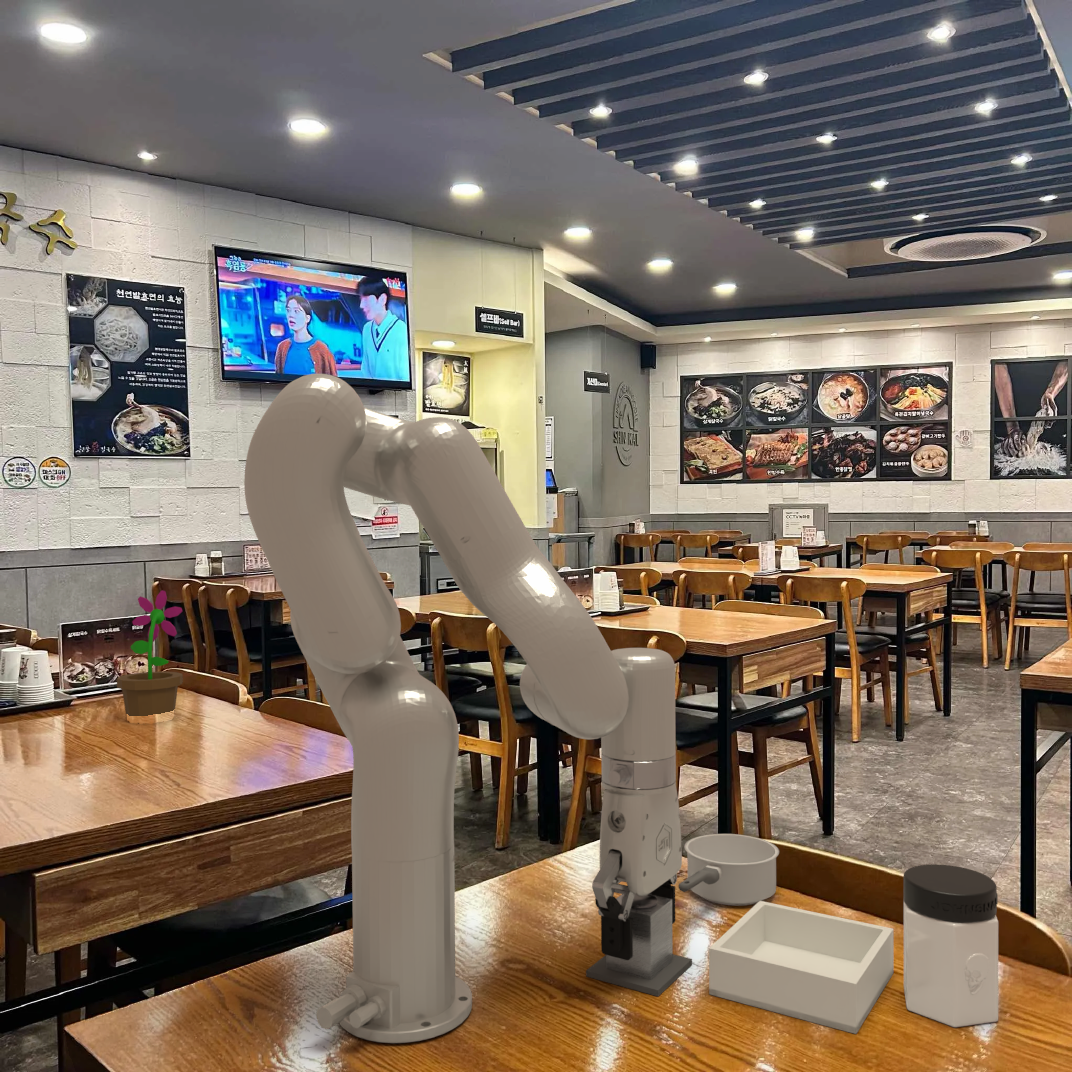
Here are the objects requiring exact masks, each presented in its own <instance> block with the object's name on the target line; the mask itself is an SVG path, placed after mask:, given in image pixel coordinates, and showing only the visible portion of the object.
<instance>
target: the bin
mask: <svg viewBox="0 0 1072 1072" xmlns="http://www.w3.org/2000/svg"><path fill="white" fill-rule="evenodd" d="M894 943H895V942H894V928H891V927H887V926H882V925H877V924H872V923H867V922H863V921H858V920H854V919H849V918H843V917H839V916H835V915H829V914H825V913H819V912H816V911H810V910H806V909H801V908H797V907H792V906H787V905H783V904H778V903H777V904H776V903H772V902H767V901H764V900H762V901H759V902H758V903H755V904H754V905H753V906H752V907H751V908H750V909H749V910H748V911H747V912H746V913H745V914H744V915H743V916H742V917H740V919H739V920H738V921H736V923H734V924H733V925H732V926H731V927H730V928H729V929H728V930H727V931H726V932H725V933H723V935H722V936H720V937H719V938H718V939H717V940H716V941H715V942H714V943H713V944H712V945H711V946H709V948H708V994H709V995H711V996H714V997H716V998H722V999H725V1000H728V1001H732V1002H737V1003H739V1004H744V1005H747V1006H751V1007H754V1008H759V1009H762V1010H766V1011H770V1012H771V1013H772V1012H773V1013H777V1014H781V1015H784V1016H788V1017H792V1018H796V1019H798V1020H799V1019H800V1020H803V1021H806V1022H809V1023H813V1024H817V1025H820V1026H825V1027H828V1028H833V1029H836V1030H839V1031H842V1032H846V1033H850V1034H855V1035H857V1034H858V1032H859V1030H860V1029H861V1027H862V1026H863V1024H864V1023H865V1021H866V1018H867V1017H868V1015H869V1014H870V1013H871V1011H872V1010H873V1007H874V1006H875V1004H876V1003H877V1001H878V999H879V997H880V996H881V994H882V992H883V991H884V990H885V988H886V986H887V984H888V983H889V981H890V979H891V978H892V977H893V975H894V969H895V968H894V964H895V962H894V959H895V958H894V954H895V953H894V950H895V949H894Z"/></svg>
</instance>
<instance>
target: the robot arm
mask: <svg viewBox="0 0 1072 1072" xmlns="http://www.w3.org/2000/svg"><path fill="white" fill-rule="evenodd" d="M259 420H260V421H259V423H258V424H257V426H256V428H255V430H254V432H253V435H252V437H251V440H250V443H249V446H248V450H247V453H246V458H245V467H244V480H243V483H244V485H243V486H244V497H245V498H244V499H245V503H246V508H247V513H248V515H249V520H250V523H251V525H252V529H253V531H254V534H255V536H256V539H257V540H258V542H259V544H260V547H261V549H262V552H263V553H264V556H265V559H266V560H267V562H268V564H269V566H270V569H271V571H272V573H273V576H274V578H275V581H276V582H277V584H278V586H279V588H280V591H281V593H282V594H283V596H284V599H285V601H286V602H287V606H288V607H289V610H290V614H289V617H290V626H291V630H292V633H293V636H294V638H295V641H296V642H297V645H298V647H299V649H300V651H301V653H302V654H303V655H302V656H303V657H304V659H305V661H306V663H307V665H308V666H309V668H310V670H311V673H312V674H313V676H314V679H315V680H316V683H317V684H318V687H319V688H320V690H321V692H322V695H323V696H324V698H325V700H326V702H327V704H328V705H329V707H330V710H331V711H332V714H333V715H334V717H335V719H336V721H337V723H338V725H339V727H340V729H341V731H342V733H343V734H344V736H345V737H346V739H347V740H348V742H349V745H351V747H352V758H353V761H352V762H353V767H352V770H353V773H352V792H351V811H350V812H351V814H350V815H351V817H350V818H351V821H350V823H351V826H350V827H351V830H350V831H351V833H350V834H351V841H350V842H351V843H350V844H351V872H352V873H351V874H352V876H351V878H352V881H351V883H352V884H351V885H352V886H351V887H352V888H351V889H352V958H353V959H352V964H353V965H352V967H353V971H351V972H349V973H348V974H346V975H345V989H343V990H342V991H341V993H340V994H339V995H338V996H339V997H337V998H334V999H333V1000H331V1001H329V1002H327V1003H325V1004H323V1005H322V1006H320V1007H318V1008H317V1011H316V1020H317V1023H318V1025H319V1026H320V1027H321V1028H322V1029H324V1030H329V1029H331V1028H333V1027H334V1026H336V1025H338V1024H339V1025H340V1026H341V1027H342V1028H343V1029H344V1030H345V1031H346V1032H348V1033H349V1034H351V1035H353V1036H355V1037H357V1038H360V1039H362V1040H366V1041H371V1042H375V1043H383V1044H384V1043H385V1044H406V1043H415V1042H420V1041H425V1040H426V1041H427V1040H429V1039H433V1038H435V1037H438V1036H442V1035H444V1034H446V1033H449V1032H450V1031H452V1030H454V1029H456V1028H457V1027H458V1026H460V1025H461V1024H462V1023H463V1022H465V1020H466V1019H467V1018H468V1017H469V1015H470V1013H471V1012H472V1007H473V995H472V991H471V988H470V986H469V985H468V984H467V983H466V982H465V981H464V980H463V979H462V978H460V977H458V976H456V912H455V911H456V909H455V908H456V906H455V905H456V904H455V903H456V901H455V899H456V898H455V897H456V896H455V895H456V893H455V890H456V889H455V887H456V886H455V831H454V825H455V824H454V823H455V820H454V818H455V817H454V816H455V815H454V812H455V809H454V808H455V806H454V804H455V786H456V785H455V784H456V775H457V768H458V767H457V766H458V759H459V747H460V745H459V742H460V736H459V726H458V725H459V724H458V721H457V717H456V713H455V711H454V708H453V705H452V704H451V702H450V701H449V699H448V698H447V696H446V695H445V693H444V692H443V691H442V690H441V689H440V688H439V687H438V685H435V684H434V683H433V682H432V681H431V680H429V679H428V678H426V677H424V676H423V675H421V674H420V673H419V671H418V669H417V667H416V666H415V663H414V662H413V659H412V657H411V655H410V654H409V651H408V649H407V648H406V645H405V644H404V641H403V639H402V637H401V628H402V622H401V615H400V611H399V608H398V605H397V603H396V600H395V599H394V597H393V595H392V593H391V591H390V589H389V588H388V586H387V585H386V583H385V582H384V580H383V578H382V576H381V573H380V572H379V570H378V568H377V566H376V564H375V562H374V560H373V558H372V555H370V552H369V550H368V549H367V547H366V545H365V542H364V540H363V539H362V537H361V534H360V530H359V529H358V527H357V523H356V521H355V520H354V518H353V515H352V513H351V510H350V507H349V506H348V503H347V499H346V494H345V489H349V490H351V491H355V492H358V493H361V494H364V495H368V496H372V497H374V498H379V499H381V500H386V501H390V502H394V503H398V504H401V505H406V506H410V508H411V509H412V511H413V512H414V514H415V516H416V517H417V519H418V521H419V523H420V524H421V526H422V527H423V529H424V530H425V532H426V534H427V535H428V537H429V539H430V540H431V542H432V544H433V546H434V547H435V549H436V550H437V553H438V554H439V555H440V557H441V559H442V561H443V563H444V565H445V566H446V569H447V571H448V572H449V574H450V575H451V578H452V579H453V581H454V582H455V584H456V586H457V587H458V588H459V590H460V591H461V593H463V596H465V597H466V599H467V600H468V601H469V602H470V603H471V604H472V605H473V607H474V608H476V609H477V611H479V612H480V613H481V614H483V616H485V617H487V618H488V619H489V620H490V621H491V622H492V623H493V624H494V625H495V626H497V628H498V629H499V630H500V631H502V633H503V634H504V635H505V636H506V637H507V638H508V640H509V641H510V642H511V643H512V645H513V647H515V649H516V650H517V652H518V653H519V654H520V655H521V657H522V658H523V660H524V661H525V663H526V664H525V666H524V667H523V669H522V671H521V675H520V679H519V689H520V695H521V698H522V700H523V702H524V703H525V705H526V707H527V708H528V709H529V710H530V711H531V712H532V713H533V714H534V715H535V716H537V717H538V718H540V719H541V720H542V721H543V720H544V721H545V722H547V723H549V724H550V725H551V726H555V727H556V728H558V729H560V730H562V731H563V732H566V733H567V734H568V735H571V736H572V737H575V738H578V739H583V740H598V739H600V740H601V741H600V742H601V743H600V744H601V746H600V748H601V749H600V750H601V751H600V752H601V754H600V755H601V786H602V788H604V790H603V797H602V804H601V806H602V807H601V817H600V830H599V831H600V833H599V870H598V872H597V874H596V876H595V877H594V879H593V881H592V885H591V886H592V887H591V888H592V892H593V894H594V898H595V900H594V901H595V906H596V907H597V910H598V911H597V912H598V916H600V926H601V927H600V935H601V936H600V942H601V943H600V944H601V945H600V946H601V948H600V949H601V953H602V954H604V956H605V955H609V956H613V957H616V958H620V959H624V960H629V959H631V958H632V956H633V923H632V918H629V917H628V916H629V912H630V909H631V906H632V902H633V899H634V896H635V893H637V895H638V896H642V897H643V896H646V895H648V894H651V895H655V896H660V897H664V898H669V899H672V925H673V924H676V886H675V885H676V884H677V881H678V874H677V873H679V871H680V870H681V868H682V866H683V865H682V864H683V861H682V860H683V858H682V857H683V855H682V854H683V851H682V849H683V848H682V829H681V828H682V827H681V814H680V804H679V803H680V802H679V797H678V791H677V790H678V789H677V783H676V781H677V771H676V770H677V765H676V763H677V762H676V761H677V754H676V753H677V752H676V666H675V665H676V664H675V661H674V659H673V657H672V656H671V654H670V653H668V652H666V651H664V650H662V649H658V648H650V647H649V648H648V647H625V648H617V649H616V648H615V649H613V650H611V649H610V647H609V645H608V642H606V639H605V638H604V635H602V633H601V630H600V629H599V627H598V625H597V624H596V622H595V621H594V619H593V618H592V615H591V614H590V613H589V612H588V610H587V609H586V607H585V606H584V605H583V603H582V602H581V601H580V600H579V598H578V597H577V596H576V594H575V593H574V592H573V590H572V589H571V588H570V587H569V586H568V584H567V583H566V582H565V580H564V579H563V578H562V576H560V574H559V572H558V571H557V570H556V568H555V567H554V566H553V564H552V563H551V562H550V561H549V560H548V558H547V557H546V556H545V555H544V554H543V553H542V551H541V550H540V548H539V547H538V546H537V544H536V542H535V541H534V539H533V537H532V535H530V533H529V531H528V529H527V528H526V526H525V524H524V521H522V519H521V517H520V515H519V513H518V512H517V509H516V508H515V506H514V505H513V503H512V501H511V499H510V497H509V495H508V494H507V492H506V490H505V489H504V486H503V485H502V483H501V481H500V480H499V477H498V476H497V474H496V473H495V470H494V469H493V467H492V465H491V463H490V462H489V460H488V458H487V457H486V454H485V453H484V452H483V450H482V448H481V446H480V445H479V443H478V441H477V440H476V438H475V437H474V435H473V434H472V433H471V432H470V430H469V429H468V428H467V427H465V426H464V425H463V424H462V423H461V422H459V421H457V420H455V419H451V418H448V417H444V416H443V417H441V416H438V417H437V416H436V417H435V416H434V417H428V418H427V417H426V418H424V419H420V420H417V421H410V420H406V419H403V418H398V417H395V416H392V415H389V414H386V413H382V412H380V411H377V410H373V409H370V408H367V407H365V406H364V404H363V402H362V399H361V397H360V396H359V395H358V393H357V392H356V391H355V389H354V388H353V387H352V386H351V385H350V384H349V383H347V382H346V381H345V380H343V379H342V378H340V377H337V376H335V375H331V374H327V373H311V374H304V375H303V376H301V377H299V378H298V377H297V378H296V379H294V380H293V381H291V382H289V383H288V384H287V385H285V387H284V388H283V389H281V391H279V393H278V394H277V396H275V398H274V399H273V401H272V402H271V403H270V405H269V407H268V408H267V409H266V411H265V412H264V414H263V415H262V417H261V419H259ZM621 882H622V883H626V884H621ZM615 893H616V894H618V895H619V894H620V895H622V894H624V896H623V900H622V903H621V905H620V903H619V902H618V900H617V899H616V898H617V897H615V896H614V895H615Z"/></svg>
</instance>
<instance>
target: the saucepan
mask: <svg viewBox="0 0 1072 1072" xmlns="http://www.w3.org/2000/svg"><path fill="white" fill-rule="evenodd" d="M684 851H686V852H687V856H686V857H687V864H686V865H687V878H686V879H685V880H684V879H683V881H681V882H680V883H678V889H679V891H680V892H683V893H685V892H688V891H691V892H692V893H694V894H695V895H698V896H700V897H701V898H702V899H705V900H706V901H709V902H712V903H714V904H720V905H724V906H738V907H740V906H752V905H756V904H757V903H758V902H759V901H764V900H766V899H768V898H770V897H772V896H774V895H775V893H776V891H777V857H778V856H779V854H780V849H779V848H778V847H777V846H776V845H775V844H774V843H772V842H771V841H768V840H766V839H763V838H760V837H756V836H751V835H745V834H738V833H736V834H735V833H711V834H704V835H699V836H696V837H693V838H691V839H689V840H687V841H686V842H685V843H684Z"/></svg>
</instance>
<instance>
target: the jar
mask: <svg viewBox="0 0 1072 1072" xmlns="http://www.w3.org/2000/svg"><path fill="white" fill-rule="evenodd" d="M997 888H998V887H997V884H996V882H995V881H994V880H993V878H991V877H989V876H987V875H986V874H984V873H981V872H979V871H976V870H973V869H969V868H965V867H961V866H957V865H949V864H936V863H935V864H922V865H921V864H920V865H916V866H912V867H910V868H908V869H906V870H905V872H904V873H903V990H904V991H903V992H904V997H905V998H904V999H905V1006H906V1009H907V1010H908V1011H910V1012H913V1013H915V1014H917V1015H920V1016H923V1017H926V1018H929V1019H931V1020H934V1021H937V1022H938V1023H942V1024H944V1025H947V1026H949V1027H952V1028H960V1027H961V1028H962V1027H967V1026H973V1025H982V1024H989V1023H995V1022H998V1021H999V920H998V917H997V909H998V908H997V905H999V904H998V903H999V901H998V896H999V895H998V893H997V892H998V891H997Z"/></svg>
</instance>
